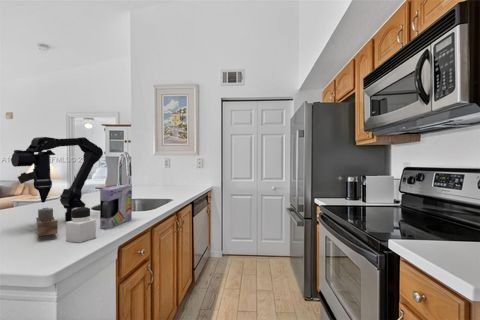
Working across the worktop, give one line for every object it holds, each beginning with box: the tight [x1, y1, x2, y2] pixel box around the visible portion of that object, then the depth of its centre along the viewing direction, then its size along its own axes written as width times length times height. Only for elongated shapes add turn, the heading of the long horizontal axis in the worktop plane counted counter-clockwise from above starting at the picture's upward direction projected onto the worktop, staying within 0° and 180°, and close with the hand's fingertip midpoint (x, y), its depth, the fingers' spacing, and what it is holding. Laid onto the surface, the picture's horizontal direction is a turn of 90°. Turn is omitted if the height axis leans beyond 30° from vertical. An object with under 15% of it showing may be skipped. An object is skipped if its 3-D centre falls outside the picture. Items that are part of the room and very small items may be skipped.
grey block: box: [37, 207, 54, 222], centre depth 116 cm, size 5×4×6 cm
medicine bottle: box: [65, 206, 97, 244], centre depth 104 cm, size 7×7×12 cm
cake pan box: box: [99, 184, 133, 230], centre depth 127 cm, size 19×5×18 cm, turn 170°
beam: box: [35, 216, 59, 237], centre depth 111 cm, size 6×23×7 cm, turn 38°
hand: (43, 201), depth 121 cm, fingers open, 9 cm apart
